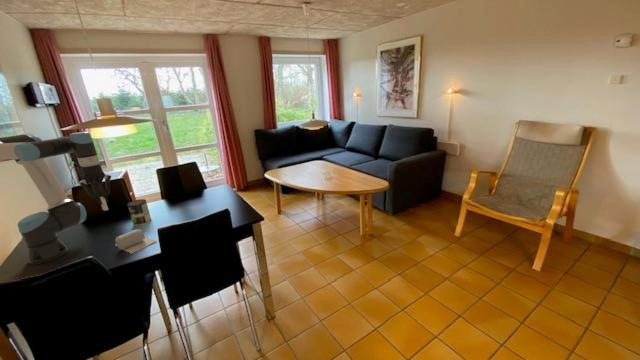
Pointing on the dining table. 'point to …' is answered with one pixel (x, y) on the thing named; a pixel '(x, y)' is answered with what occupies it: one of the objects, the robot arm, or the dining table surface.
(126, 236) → the can
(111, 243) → the dining table surface
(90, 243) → the dining table surface
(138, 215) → the coffee can
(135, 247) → the mat
